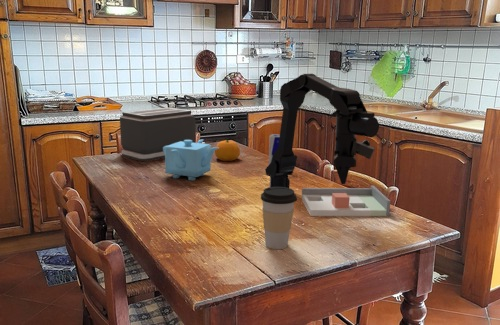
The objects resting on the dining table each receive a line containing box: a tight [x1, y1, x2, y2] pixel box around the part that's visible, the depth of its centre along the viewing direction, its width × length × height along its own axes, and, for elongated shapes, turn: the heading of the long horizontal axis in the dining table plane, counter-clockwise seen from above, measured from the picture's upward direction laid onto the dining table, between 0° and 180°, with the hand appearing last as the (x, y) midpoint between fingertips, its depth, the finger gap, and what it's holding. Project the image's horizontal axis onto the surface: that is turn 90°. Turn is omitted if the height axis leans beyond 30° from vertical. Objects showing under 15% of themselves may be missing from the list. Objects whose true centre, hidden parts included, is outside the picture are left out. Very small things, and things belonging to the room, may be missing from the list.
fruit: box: [214, 138, 241, 162], centre depth 220 cm, size 12×12×10 cm
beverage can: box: [268, 133, 280, 165], centre depth 203 cm, size 5×5×15 cm
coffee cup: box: [260, 186, 298, 250], centre depth 125 cm, size 9×9×15 cm
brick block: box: [332, 193, 350, 208], centre depth 153 cm, size 4×4×4 cm
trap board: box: [301, 185, 391, 217], centre depth 157 cm, size 25×17×5 cm
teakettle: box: [163, 138, 218, 181], centre depth 189 cm, size 19×19×15 cm
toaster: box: [119, 107, 197, 162], centre depth 228 cm, size 19×35×20 cm, turn 140°
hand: (343, 183), depth 145 cm, fingers closed
